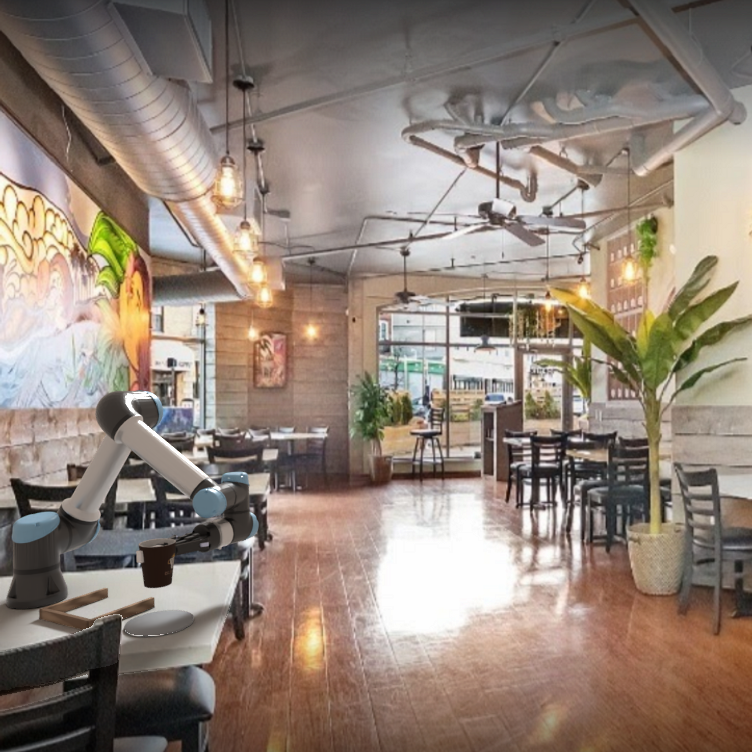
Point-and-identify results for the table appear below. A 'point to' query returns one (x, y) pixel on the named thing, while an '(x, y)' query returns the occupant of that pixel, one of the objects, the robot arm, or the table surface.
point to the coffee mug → (157, 562)
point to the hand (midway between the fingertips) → (138, 557)
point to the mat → (159, 622)
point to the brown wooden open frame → (57, 610)
